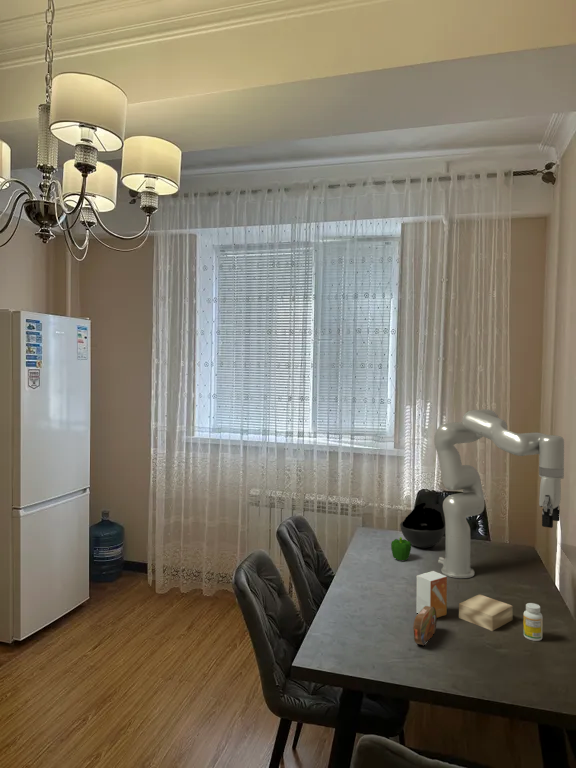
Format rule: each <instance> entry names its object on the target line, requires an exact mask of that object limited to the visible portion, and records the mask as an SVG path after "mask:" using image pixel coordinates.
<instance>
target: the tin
mask: <svg viewBox="0 0 576 768" xmlns="http://www.w3.org/2000/svg"><path fill="white" fill-rule="evenodd" d="M437 619H438V618H437V615H436V610H435V608H434V607H429V606H425V607H424V608H423V609H422V610H421V611H420V612H419V614H416V616H415V618H414V621H413V627H412V629H413V641H414V642H415V643H416V644H418V645H422V646H424V645H425V643H426V642H427V641H428V640H429V639H430V638H432V637H433V636H434V635H435V633H436V629H437ZM433 634H434V635H433ZM430 640H431V639H430ZM430 640H429V641H430ZM425 646H426V645H425Z"/></svg>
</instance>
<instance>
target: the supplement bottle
mask: <svg viewBox="0 0 576 768" xmlns="http://www.w3.org/2000/svg"><path fill="white" fill-rule="evenodd" d="M522 614H523V618H522V619H523V625H522V626H523V636H524V637H525V639H527V640H530V641H534V642H539V641H542V639H543V630H544V629H543V628H544V627H543V621H544V619H543V614H542V613H541V606H540V605H539V604H538V603H534V602H528V603H526V604H525V610H524V612H523V613H522Z"/></svg>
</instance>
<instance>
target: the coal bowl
mask: <svg viewBox="0 0 576 768" xmlns="http://www.w3.org/2000/svg"><path fill="white" fill-rule="evenodd" d="M426 504H427V503H425V502H422V503H420V504H417V505H416V506H414V509H412V510H411V512H410V513H408V514H407V516H406V517H404V518H405V519H404V520H403V521H402V522H400V525H399V526H400V531H401V534H402V535H403V537H404V538H405V540H407V541H410V543H411V546H415V547H416V548H422V549H423V548H430V547H433V546H435V545H437V544H438V543H439V542H440V541H441V540H442V538H443V537H444V536H445V535H444V534H445V522H444V521H443V517H442V516H443V515H442V513H441V512H440V511H439V510H437V509H436V508H432V507H426Z"/></svg>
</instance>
